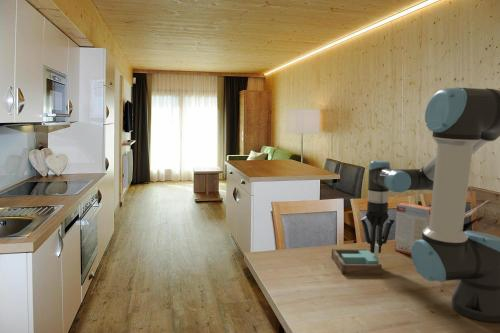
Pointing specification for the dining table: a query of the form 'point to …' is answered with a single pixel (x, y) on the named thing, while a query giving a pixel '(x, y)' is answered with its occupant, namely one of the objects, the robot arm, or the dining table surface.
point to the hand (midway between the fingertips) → (375, 260)
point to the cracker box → (410, 225)
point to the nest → (354, 268)
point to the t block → (359, 258)
